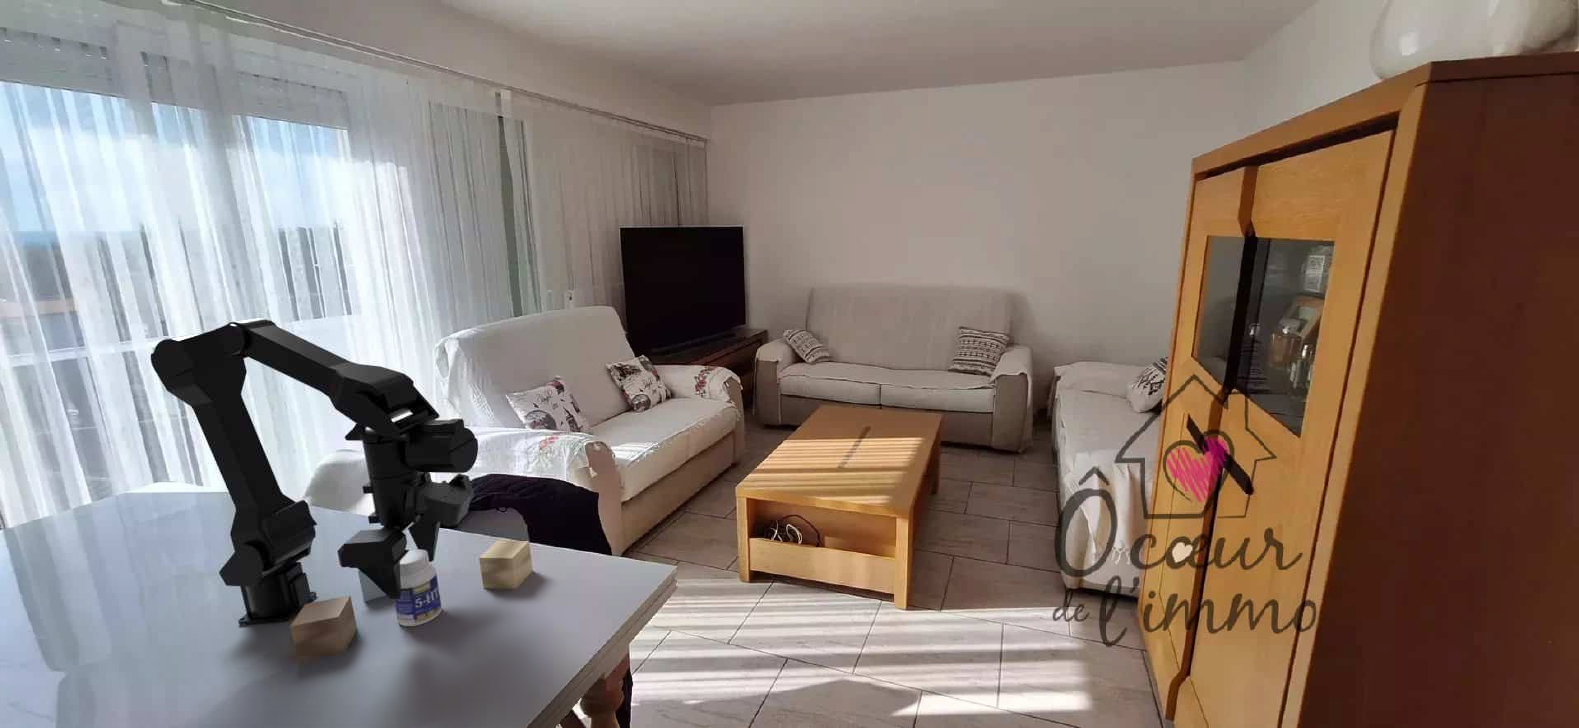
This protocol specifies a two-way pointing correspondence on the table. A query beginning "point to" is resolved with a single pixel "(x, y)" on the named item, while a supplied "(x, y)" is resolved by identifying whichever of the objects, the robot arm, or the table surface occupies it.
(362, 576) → the slate block
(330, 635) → the walnut block
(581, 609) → the table surface
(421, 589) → the pill bottle
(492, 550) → the oak block
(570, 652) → the table surface
